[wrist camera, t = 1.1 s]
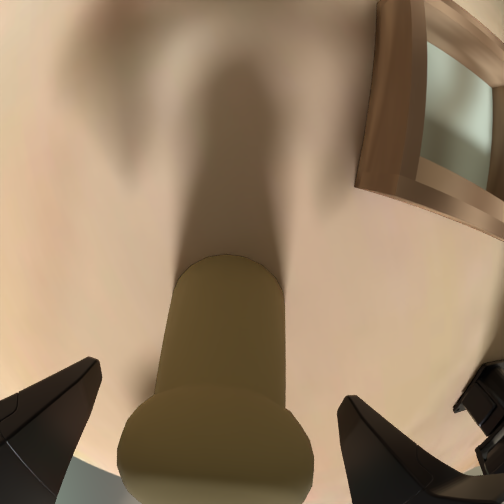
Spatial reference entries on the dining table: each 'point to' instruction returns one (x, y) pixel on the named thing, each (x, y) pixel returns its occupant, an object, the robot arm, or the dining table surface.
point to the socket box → (436, 113)
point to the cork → (219, 398)
